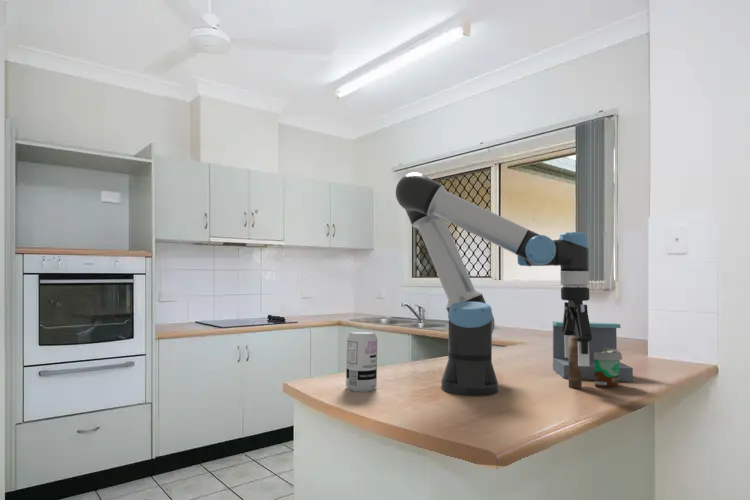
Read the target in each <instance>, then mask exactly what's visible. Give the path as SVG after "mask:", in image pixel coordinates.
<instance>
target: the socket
mask: <svg viewBox="0 0 750 500" xmlns="http://www.w3.org/2000/svg"><path fill="white" fill-rule="evenodd" d="M589 324H590V330H591V336H592V340H590V342H589V365H590V366H582V380H589V381H590V380H592V381H595V363H594V352H600V351H601V352H602V351H603V348H610V349H616V350H618V349H617V342H618V341H617V329H621V324H620V323H616V322H593V321H592V322H591V321H589ZM562 326H563V320H562V321H559V320H557V321H554V320H553V321H552V370H553V371H554V372H555V373H556V374H557V375H559V376H560V377H561V378H563V379H568V380H569V358H565V342H564V332H562ZM574 332H575V334H576V335H572V336H575V337H578V334H577V330H576V326H575V329H574ZM633 370H634V368H633V367H631V366H629V365H627V364H625V363H623V362H621V361H620V365H619V379H618V382H634V376H633V375H634V373H633V372H634V371H633Z"/></svg>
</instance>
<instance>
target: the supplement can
mask: <svg viewBox="0 0 750 500" xmlns="http://www.w3.org/2000/svg"><path fill="white" fill-rule="evenodd" d="M377 374H378V336H377V334H376V332H375V331H370V330H368V331H367V330H356V331H355V330H353V331H349V334H348V336H347V338H346V374H345V375H346V377H345V378H346V379H345V382H346V383H345V386H346V388H348V390H349V391H352V392H358V393H359V392H360V393H361V392H362V393H363V392H371V391H374V390H375V389H376V388H377V387H378V386H377V383H378V382H377V381H378V380H377V379H378V378H377V377H378V375H377Z"/></svg>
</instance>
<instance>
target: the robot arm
mask: <svg viewBox="0 0 750 500" xmlns="http://www.w3.org/2000/svg"><path fill="white" fill-rule="evenodd" d="M395 198H396V200H397V203H398V204H399V206H401V208H403V209H404V210H405V211H406V214H407V216H408V217H407V218H408V219H409V221H410V223H411V226H412V228H415V229H418V231H419V232H420V236H421V237H422V240H423V243H424V245H425V247H426V249H427V252H428V254H429V257H430V260H431V262H432V264H433V267H434V269H435V271H436V274H437V276H438V278H439V282H440V283H441V286H442V288H443V291H444V293H445V295H446V298H447V300H448V301H447V305H446V307H445V308H446V310H447V318H448V344H447V345H448V351H447V352H448V359H447V363H446V365H445V368H444V372H443V374H442V378H441V389H442V390H443V391H445V392H448V393H450V394H456V395H459V396H460V395H462V396H472V397H473V396H474V397H475V396H477V397H478V396H479V397H480V396H482V397H483V396H491V395H495V394H497V393H498V392H499V382H498V379H497V374H496V371H495V368H494V365H493V363H492V359H493V358H492V353H493V352H492V349H493V348H492V347H493V344H492V343H493V342H492V341H493V336H492V335H493V332H494V330H495V326H496V325H495V318H494V315H493V309H492V307H491V305H490V304H488V303H487V302H486V300H485V298H484V295H483V293H482V292H480V291H477V290H476V289H475V287H474V285H473V282H472V280H471V279H470V275H469V273H468V271H467V268H466V266H465V264H464V262H463V259H462V257H461V255H460V251H459V250H458V246H456V242H455V240H454V238H453V235H452V234H451V231H450V228H449V226H448V224H447V223H450V224H452V225H454V226H455V227H458V228H460V229H462V230H464V231H467V232H468V233H471V234H473V235H475V236H477V237H479V238H481V239H483V240H486V241H487V242H490V243H491V244H494V245H496V246H498V247H499V248H501V249H504V250H506V251H508V252H510V253H512V254H513V255H514V254H515V255H516V256H517V264H518V265H519V266H521V267H523V266H525V267H549V266H553V267H559V266H560V275H559V276H560V285H561V286H562V287H561V288H560V299H561V300H563V301H565V302H564V311H563V320H562V321H563V326H562V332H564V342H565V358H569V337H575V336H572V335H576V334H575V332H574V329H575V326H576V330H577V334H578V338H577V340H576V341H577V342H578V366H590V365H589V342H590V340H592V336H591V330H590V324H589V322H590V319H589V314H588V313H589V312H588V305H587V304H584V301H590V297H591V296H590V288H589V287H587V286H590V278H591V277H592V276H591V274H590V269H589V266H590V264H589V263H590V260H589V259H590V255H589V254H590V253H589V252H590V250H589V249H590V247H589V239H588V234H586V233H585V232H579V231H577V232H576V231H575V232H574V231H573V232H571V231H570V232H569V231H568V232H562V233H560V234H559V239H552V238H550V237H549V236H546V235H543V234H539V233H537V232H535V231H532V230H530V229H528V228H526V227H524V226H522V225H520V224H517V223H515V222H513V221H511V220H509V219H507V218H505V217H503V216H501V215H499V214H496V213H494V212H492V211H490V210H488V209H486V208H483V207H481V206H480V205H477V204H475V203H474V202H471V201H468V200H467V199H464V198H462V197H459V196H458V195H456V194H454V193H451V192H449V191H447V190H446V187H445V185H442V184H441V183H438V182H436V181H434V179H431V178H430V177H428V176H427V175H425V174H423V173H420V172H410V173H407V174H405V175H404V176H402V177H401V178H400V179H399V181H398V183H397V184H396V187H395ZM566 301H567V302H566Z"/></svg>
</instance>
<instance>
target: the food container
mask: <svg viewBox="0 0 750 500" xmlns="http://www.w3.org/2000/svg"><path fill="white" fill-rule="evenodd" d="M621 360H623V356H622V353H621V351H620V350H618V349H617V350H616V349H610V348H603V351H602V352H601V351H600V352H594V363H595V380H594V387H595V388H604V389H615V388H618V387H619V381H618V379H619V365H620V362H621Z"/></svg>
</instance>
